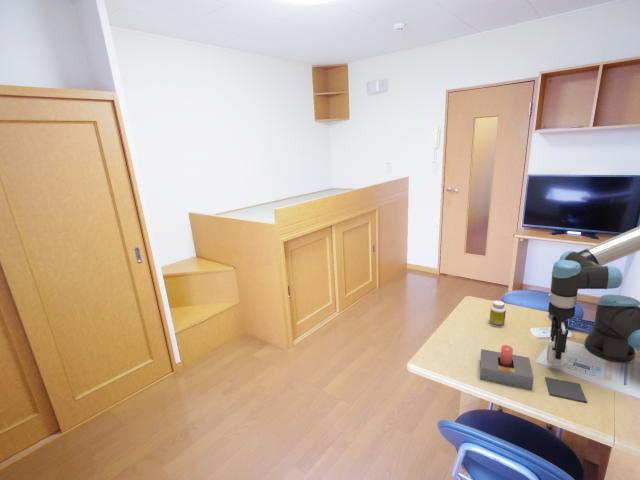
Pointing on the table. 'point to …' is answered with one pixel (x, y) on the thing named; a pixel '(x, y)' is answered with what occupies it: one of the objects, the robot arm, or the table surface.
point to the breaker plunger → (506, 356)
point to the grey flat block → (506, 370)
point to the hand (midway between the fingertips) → (555, 361)
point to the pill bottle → (497, 314)
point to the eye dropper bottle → (550, 353)
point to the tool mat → (565, 389)
